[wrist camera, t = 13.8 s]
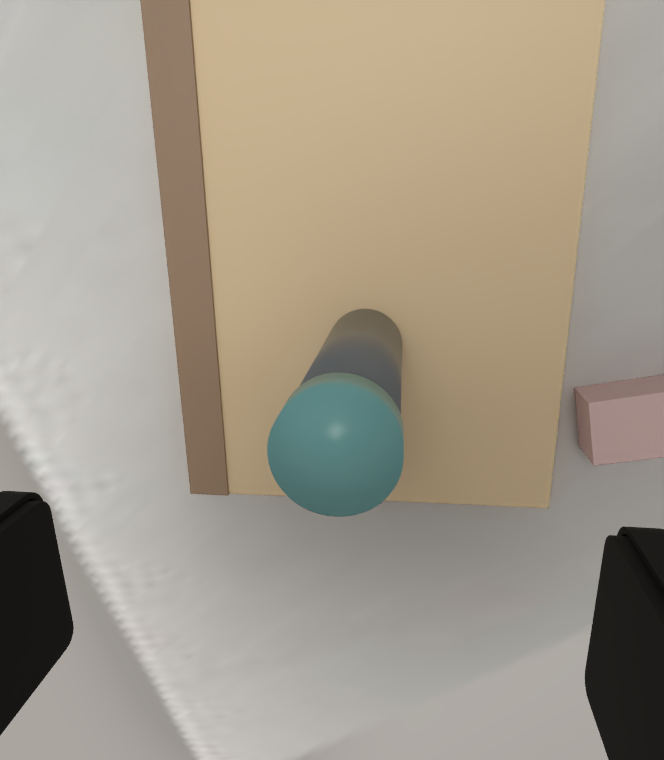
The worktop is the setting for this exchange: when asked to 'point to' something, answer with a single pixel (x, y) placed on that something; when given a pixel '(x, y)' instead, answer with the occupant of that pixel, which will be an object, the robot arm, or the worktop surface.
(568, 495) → the worktop surface
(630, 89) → the worktop surface
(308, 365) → the notepad
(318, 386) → the marker
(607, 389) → the eraser
